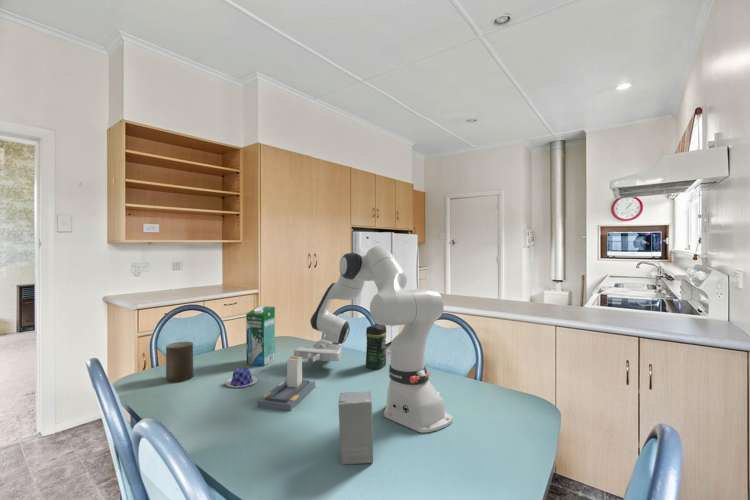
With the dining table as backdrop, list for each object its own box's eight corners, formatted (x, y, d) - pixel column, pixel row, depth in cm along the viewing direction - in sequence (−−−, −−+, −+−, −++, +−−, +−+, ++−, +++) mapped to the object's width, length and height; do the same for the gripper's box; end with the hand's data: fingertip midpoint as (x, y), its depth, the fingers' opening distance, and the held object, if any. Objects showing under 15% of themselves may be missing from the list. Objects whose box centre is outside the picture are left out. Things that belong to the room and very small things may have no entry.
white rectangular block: (292, 382, 135) (292, 355, 134) (302, 383, 134) (301, 355, 133) (287, 386, 131) (287, 358, 130) (297, 387, 130) (297, 359, 130)
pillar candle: (192, 380, 142) (192, 342, 142) (163, 384, 138) (163, 345, 138) (194, 372, 151) (194, 337, 151) (168, 375, 147) (168, 339, 147)
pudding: (218, 387, 136) (218, 373, 136) (238, 376, 148) (238, 363, 148) (245, 390, 133) (245, 376, 133) (264, 379, 144) (264, 366, 144)
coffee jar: (379, 371, 153) (379, 327, 153) (363, 368, 157) (363, 325, 156) (388, 364, 162) (388, 323, 162) (373, 361, 165) (373, 321, 165)
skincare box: (372, 449, 94) (372, 389, 94) (373, 466, 87) (373, 401, 87) (340, 450, 94) (340, 390, 94) (338, 467, 87) (338, 402, 87)
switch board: (286, 384, 138) (286, 377, 138) (315, 387, 136) (315, 379, 136) (257, 406, 119) (257, 398, 119) (290, 410, 116) (290, 402, 116)
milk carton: (246, 364, 162) (246, 308, 161) (258, 358, 170) (258, 305, 170) (263, 366, 159) (263, 309, 159) (275, 360, 168) (274, 306, 167)
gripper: (301, 341, 162) (287, 349, 148) (344, 344, 157) (333, 353, 143) (301, 355, 162) (287, 365, 148) (344, 358, 157) (333, 369, 143)
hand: (310, 359), depth 146 cm, fingers closed
